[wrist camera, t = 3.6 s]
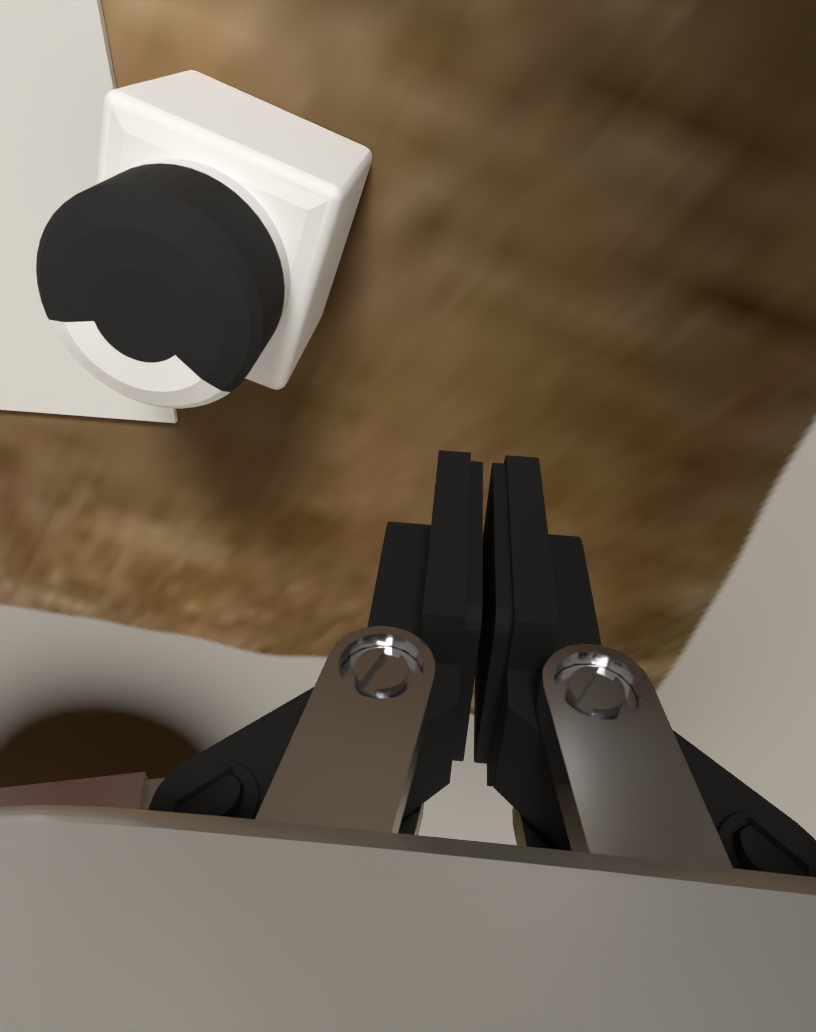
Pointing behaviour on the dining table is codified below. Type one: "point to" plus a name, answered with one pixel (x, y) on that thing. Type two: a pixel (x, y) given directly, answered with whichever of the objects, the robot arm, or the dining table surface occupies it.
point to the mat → (49, 194)
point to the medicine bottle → (199, 241)
